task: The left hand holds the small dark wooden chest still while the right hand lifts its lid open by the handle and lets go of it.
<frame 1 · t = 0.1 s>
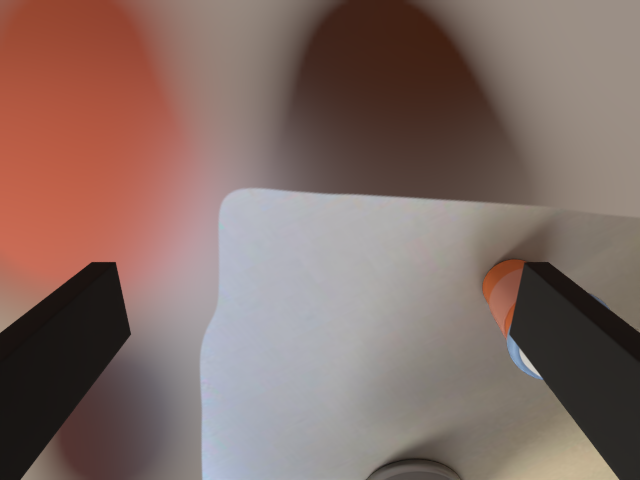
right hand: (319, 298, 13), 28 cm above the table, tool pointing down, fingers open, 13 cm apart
cup with straw: (508, 282, 44), on the table
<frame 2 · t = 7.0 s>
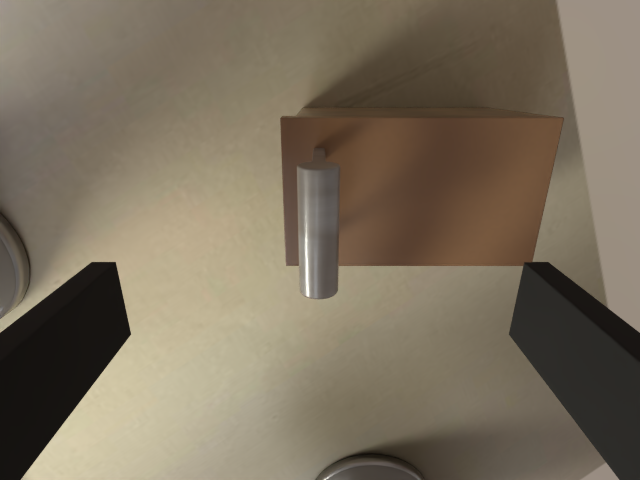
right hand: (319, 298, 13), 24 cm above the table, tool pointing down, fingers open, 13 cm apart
chest: (391, 164, 35), on the table
lid: (427, 211, 22), point 14 cm above the table, hinge at 0.0°
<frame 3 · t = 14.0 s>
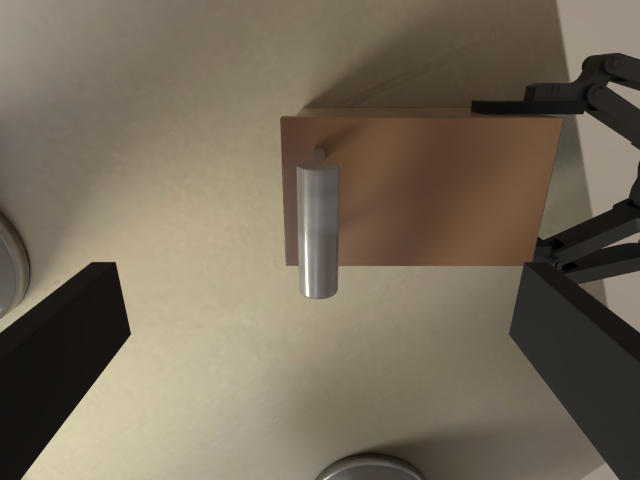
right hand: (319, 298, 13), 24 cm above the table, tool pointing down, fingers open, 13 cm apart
chest: (391, 164, 35), on the table, touching left hand
lid: (426, 211, 22), point 14 cm above the table, hinge at 0.0°
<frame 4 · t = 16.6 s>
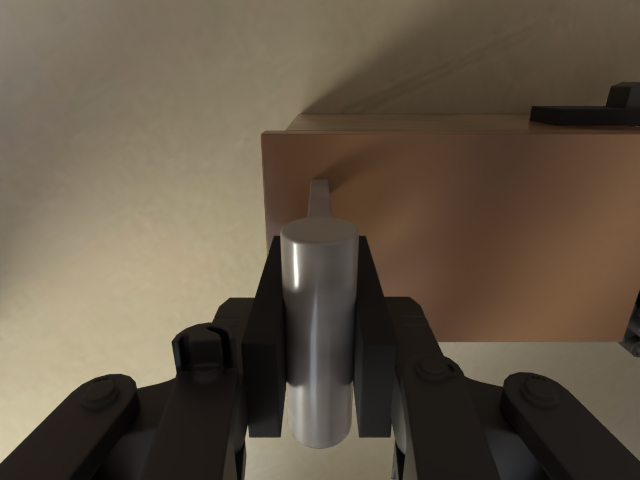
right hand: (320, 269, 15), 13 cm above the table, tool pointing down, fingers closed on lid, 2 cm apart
chest: (413, 186, 27), on the table, touching left hand
lid: (488, 281, 14), point 14 cm above the table, hinge at 0.4°, touching right hand
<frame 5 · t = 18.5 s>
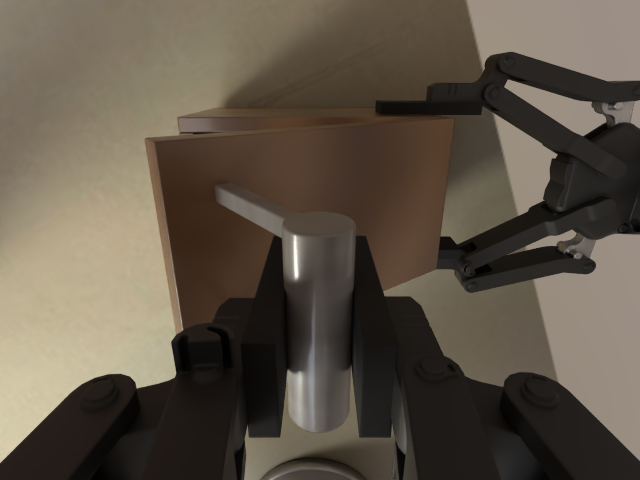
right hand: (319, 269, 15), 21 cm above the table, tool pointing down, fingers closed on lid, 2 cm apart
left hand: (374, 182, 28), fingers closed on chest, 10 cm apart
chest: (311, 165, 34), on the table, touching left hand
lid: (385, 244, 17), point 18 cm above the table, hinge at 35.5°, touching right hand
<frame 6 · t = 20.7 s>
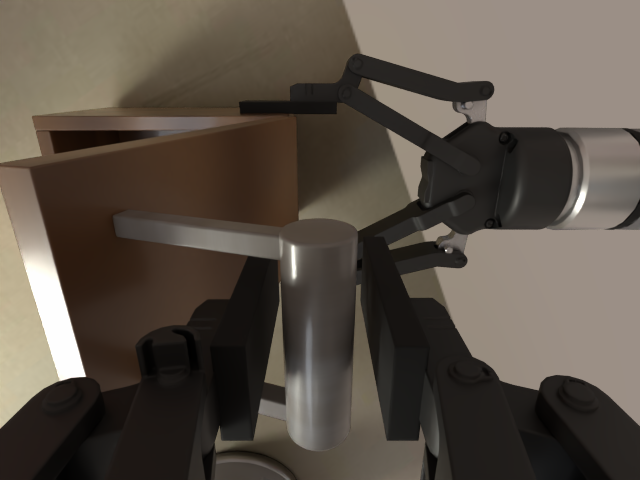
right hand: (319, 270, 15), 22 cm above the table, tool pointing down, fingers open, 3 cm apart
left hand: (248, 179, 29), fingers closed on chest, 9 cm apart
chest: (207, 163, 35), on the table, touching left hand
lid: (292, 245, 17), point 20 cm above the table, hinge at 70.2°
when the left hand's fingers open (6 cm above the table, at t = 24.7 s): chest stays where it is, on the table.
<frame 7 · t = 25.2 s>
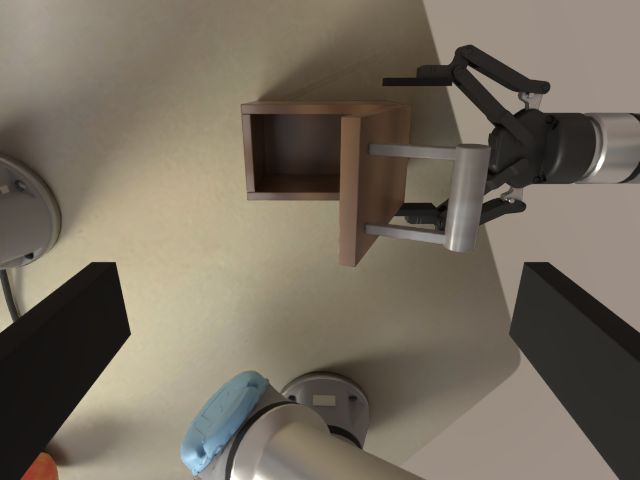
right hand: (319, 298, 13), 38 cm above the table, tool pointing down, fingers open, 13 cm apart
left hand: (380, 149, 42), fingers open, 13 cm apart
chest: (322, 141, 48), on the table
lid: (426, 175, 30), point 20 cm above the table, hinge at 67.6°
apple: (44, 457, 68), on the table
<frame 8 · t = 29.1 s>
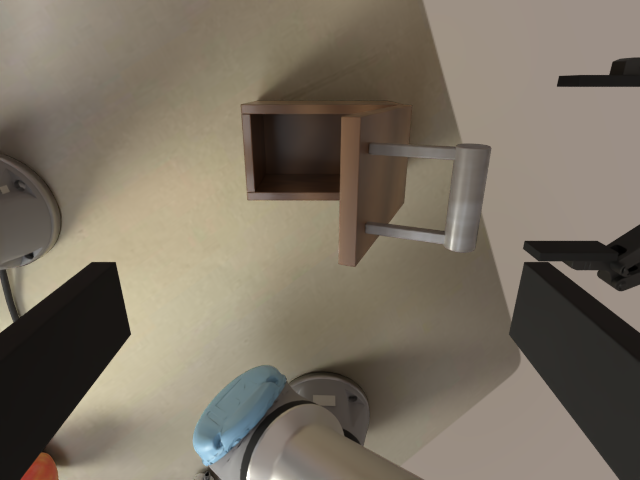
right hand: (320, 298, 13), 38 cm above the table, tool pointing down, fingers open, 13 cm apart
chest: (322, 141, 48), on the table
lid: (426, 175, 30), point 20 cm above the table, hinge at 67.6°
apple: (44, 457, 68), on the table
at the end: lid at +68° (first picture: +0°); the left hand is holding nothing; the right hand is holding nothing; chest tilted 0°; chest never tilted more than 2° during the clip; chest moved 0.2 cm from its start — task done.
